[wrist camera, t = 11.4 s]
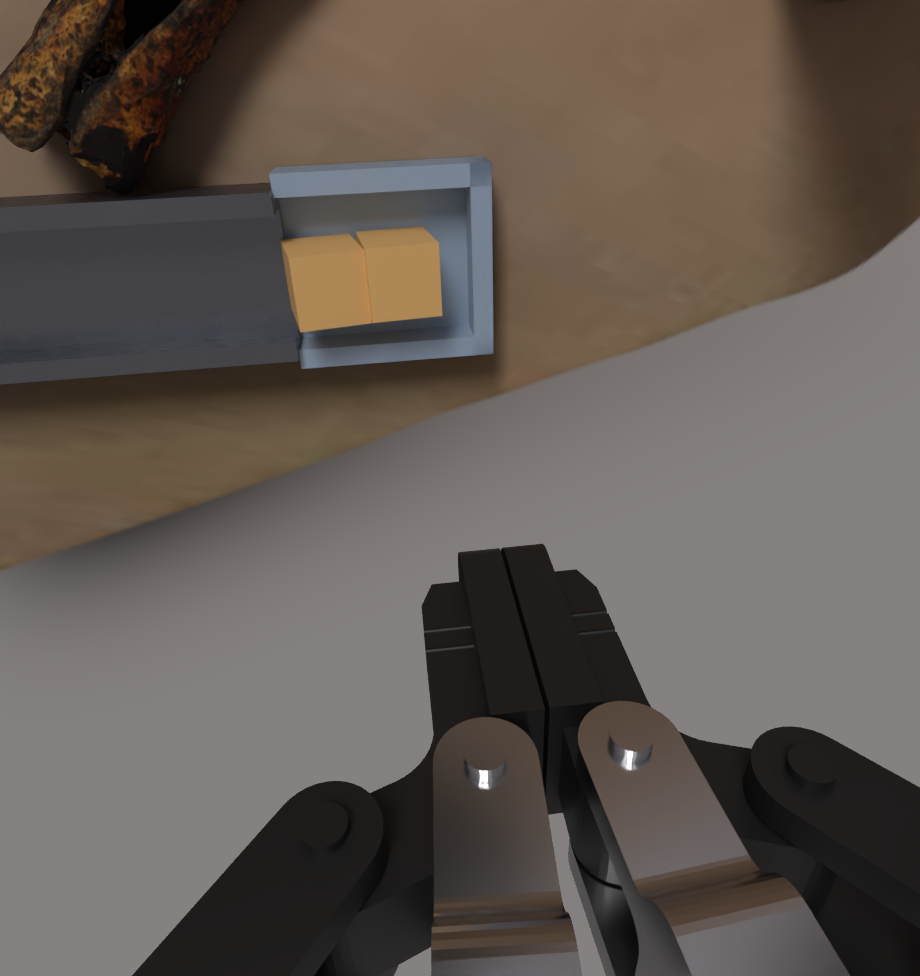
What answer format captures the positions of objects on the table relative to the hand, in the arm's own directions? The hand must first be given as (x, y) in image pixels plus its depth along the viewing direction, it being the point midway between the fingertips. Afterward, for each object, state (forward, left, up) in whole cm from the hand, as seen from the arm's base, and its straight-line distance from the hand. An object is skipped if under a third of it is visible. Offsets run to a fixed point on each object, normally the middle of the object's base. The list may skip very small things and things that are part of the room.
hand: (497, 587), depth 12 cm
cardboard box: (+1, +2, -34) cm, 34 cm away
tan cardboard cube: (+5, +2, -33) cm, 34 cm away
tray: (+1, +2, -35) cm, 35 cm away
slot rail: (+18, +2, -35) cm, 39 cm away
